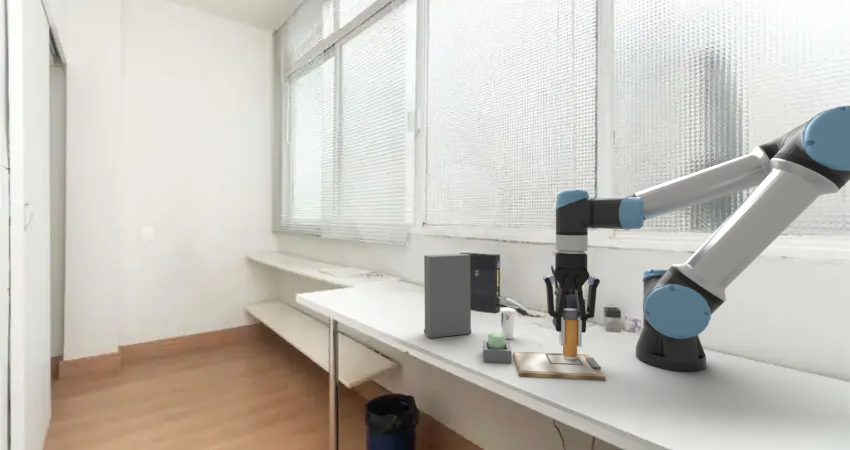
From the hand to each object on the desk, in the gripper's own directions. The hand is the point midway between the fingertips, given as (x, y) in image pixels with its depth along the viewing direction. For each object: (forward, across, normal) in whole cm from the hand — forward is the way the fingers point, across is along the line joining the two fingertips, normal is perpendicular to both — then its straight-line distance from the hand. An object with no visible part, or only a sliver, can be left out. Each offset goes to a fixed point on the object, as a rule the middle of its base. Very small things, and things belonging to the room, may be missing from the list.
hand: (570, 344), depth 97 cm
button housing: (+5, +18, -1) cm, 19 cm away
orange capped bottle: (+3, 0, 0) cm, 3 cm away
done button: (+3, +18, -1) cm, 18 cm away
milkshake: (+5, +14, -18) cm, 23 cm away
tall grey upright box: (+5, +33, -20) cm, 39 cm away
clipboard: (+5, +4, +3) cm, 7 cm away
